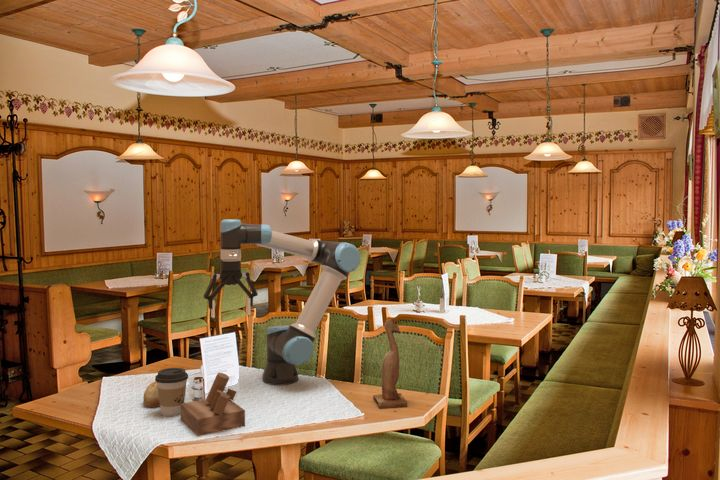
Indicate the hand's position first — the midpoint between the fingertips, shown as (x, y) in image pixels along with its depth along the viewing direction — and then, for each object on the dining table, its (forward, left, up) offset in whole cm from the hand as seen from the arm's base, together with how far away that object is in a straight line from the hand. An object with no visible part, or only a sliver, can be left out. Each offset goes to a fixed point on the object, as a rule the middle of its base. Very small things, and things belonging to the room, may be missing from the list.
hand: (231, 316), depth 225 cm
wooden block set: (+10, +23, -26) cm, 37 cm away
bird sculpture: (-52, +31, -32) cm, 68 cm away
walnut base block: (+12, +22, -32) cm, 41 cm away
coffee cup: (+23, +7, -32) cm, 40 cm away
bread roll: (+25, -7, -32) cm, 41 cm away
